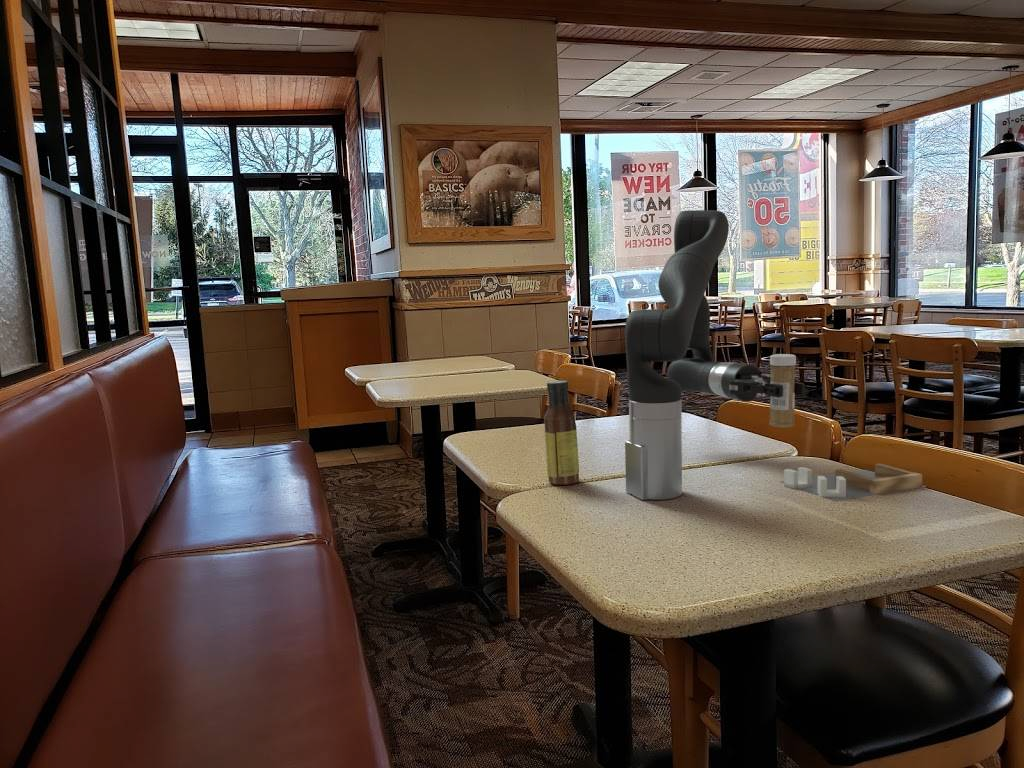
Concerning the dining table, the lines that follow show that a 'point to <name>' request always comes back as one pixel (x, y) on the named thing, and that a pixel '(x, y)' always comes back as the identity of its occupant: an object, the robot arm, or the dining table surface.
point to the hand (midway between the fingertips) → (792, 390)
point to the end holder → (882, 479)
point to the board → (827, 484)
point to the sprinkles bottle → (783, 376)
